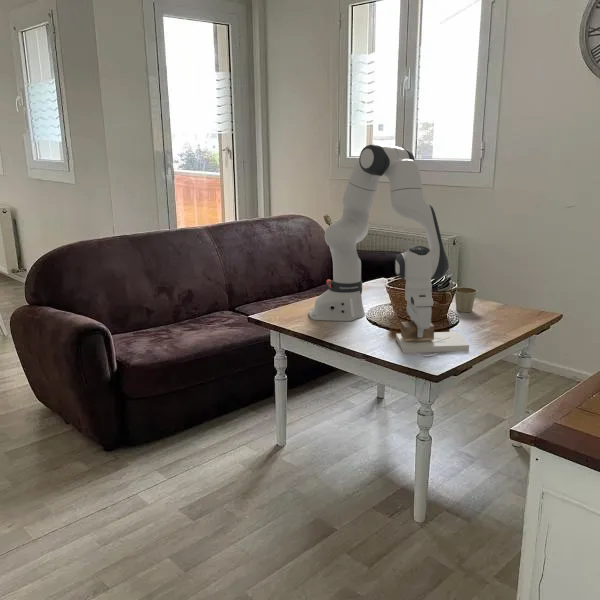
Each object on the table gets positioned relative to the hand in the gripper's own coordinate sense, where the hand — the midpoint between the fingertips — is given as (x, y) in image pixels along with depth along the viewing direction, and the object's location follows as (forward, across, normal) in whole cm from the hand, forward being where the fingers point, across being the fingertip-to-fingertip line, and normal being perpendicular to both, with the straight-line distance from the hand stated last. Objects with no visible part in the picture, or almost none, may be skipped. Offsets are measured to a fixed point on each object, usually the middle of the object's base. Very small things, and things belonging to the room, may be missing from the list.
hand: (417, 333), depth 211 cm
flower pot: (+5, -38, +28) cm, 47 cm away
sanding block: (+2, 0, 0) cm, 2 cm away
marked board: (+4, 0, +5) cm, 7 cm away
